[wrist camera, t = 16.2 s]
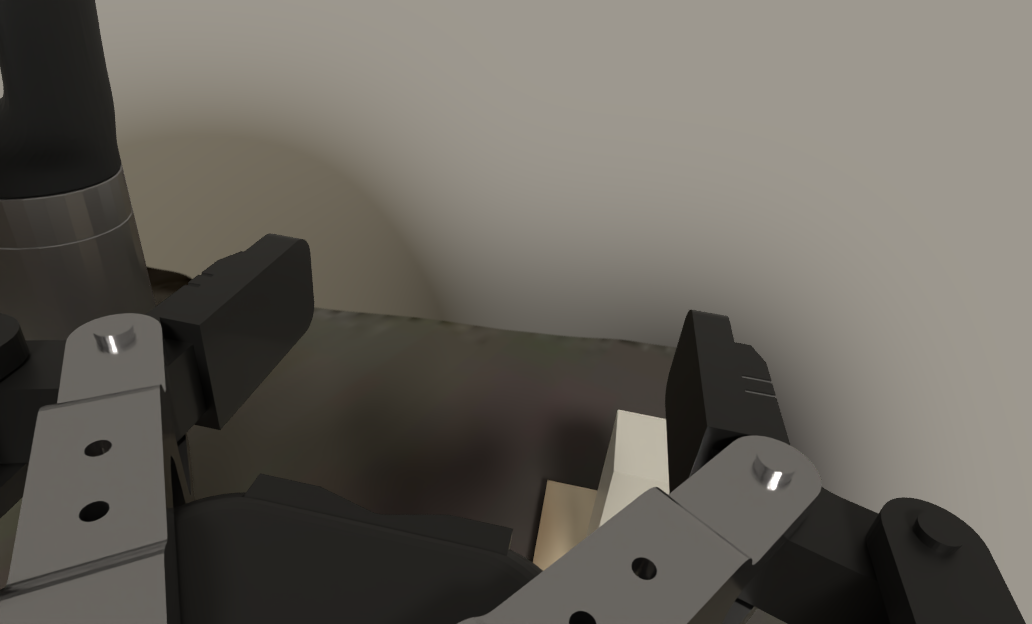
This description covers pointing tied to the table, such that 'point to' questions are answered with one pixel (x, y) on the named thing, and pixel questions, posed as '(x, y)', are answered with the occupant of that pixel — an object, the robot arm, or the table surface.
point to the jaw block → (631, 465)
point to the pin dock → (562, 521)
